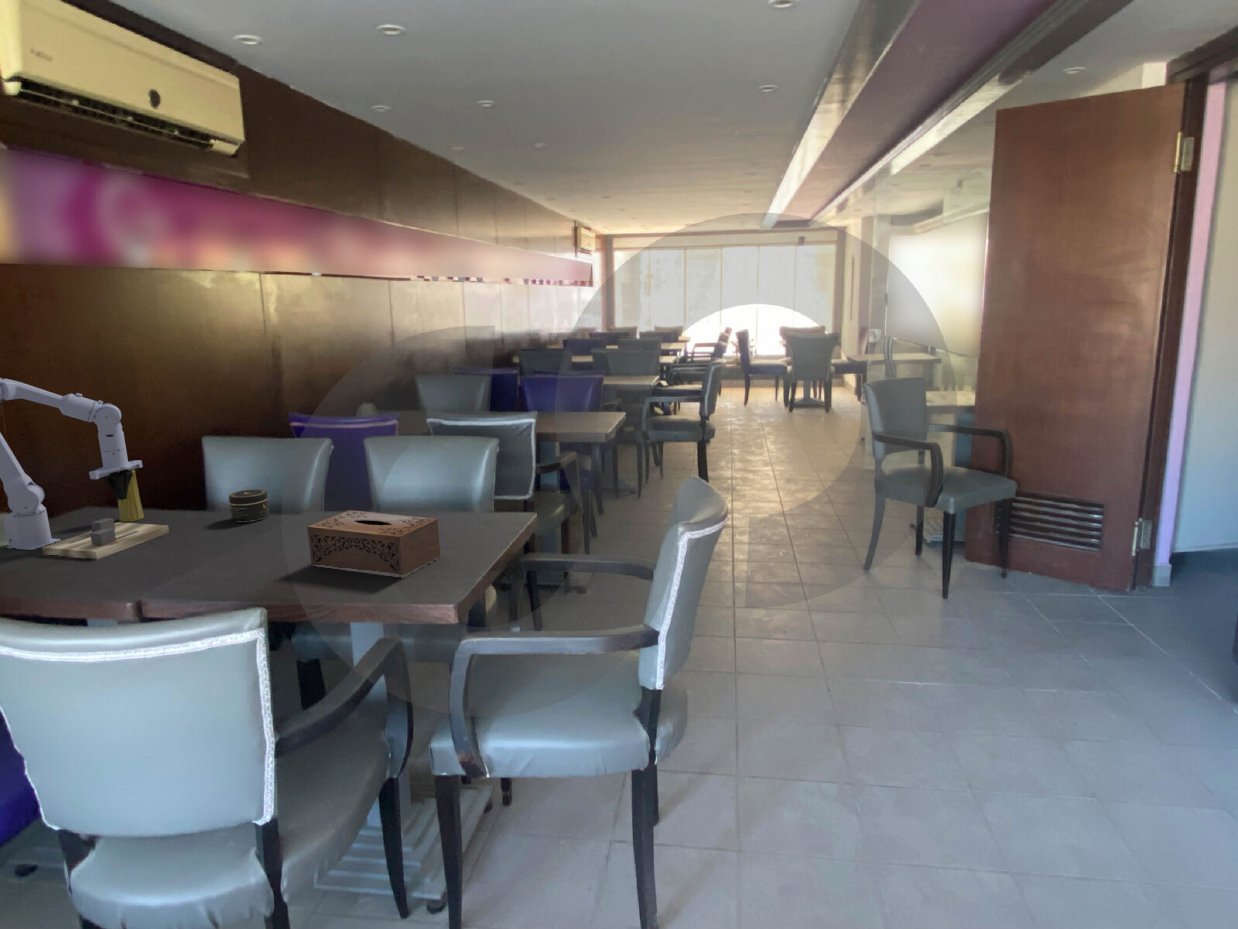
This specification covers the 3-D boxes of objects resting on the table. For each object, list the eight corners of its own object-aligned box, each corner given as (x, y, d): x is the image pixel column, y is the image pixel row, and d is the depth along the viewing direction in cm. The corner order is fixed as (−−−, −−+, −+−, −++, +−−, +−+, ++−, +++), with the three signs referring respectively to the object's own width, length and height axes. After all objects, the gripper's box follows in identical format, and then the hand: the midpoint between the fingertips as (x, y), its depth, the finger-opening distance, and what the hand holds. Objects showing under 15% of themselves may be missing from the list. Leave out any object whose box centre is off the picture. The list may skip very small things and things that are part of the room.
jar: (256, 524, 218) (253, 497, 217) (223, 523, 220) (220, 497, 218) (277, 514, 228) (274, 488, 226) (245, 513, 230) (242, 488, 228)
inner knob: (92, 533, 206) (90, 522, 206) (105, 528, 210) (103, 518, 209) (102, 533, 205) (100, 522, 205) (115, 529, 209) (113, 518, 208)
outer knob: (92, 544, 196) (90, 533, 196) (106, 539, 200) (104, 528, 199) (102, 545, 195) (100, 534, 195) (116, 540, 199) (114, 529, 199)
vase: (132, 522, 223) (124, 473, 220) (114, 521, 224) (106, 473, 221) (149, 516, 229) (141, 469, 226) (131, 515, 230) (123, 468, 227)
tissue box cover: (440, 559, 187) (437, 518, 184) (403, 580, 173) (399, 536, 171) (353, 548, 196) (349, 510, 194) (311, 567, 183) (307, 526, 181)
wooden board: (43, 555, 196) (41, 547, 195) (119, 529, 217) (117, 522, 216) (97, 559, 192) (95, 551, 191) (169, 532, 212) (168, 525, 212)
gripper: (101, 455, 200) (110, 507, 203) (148, 445, 214) (155, 493, 217) (79, 455, 202) (88, 505, 205) (127, 444, 216) (135, 491, 219)
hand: (121, 499), depth 211 cm, fingers closed
